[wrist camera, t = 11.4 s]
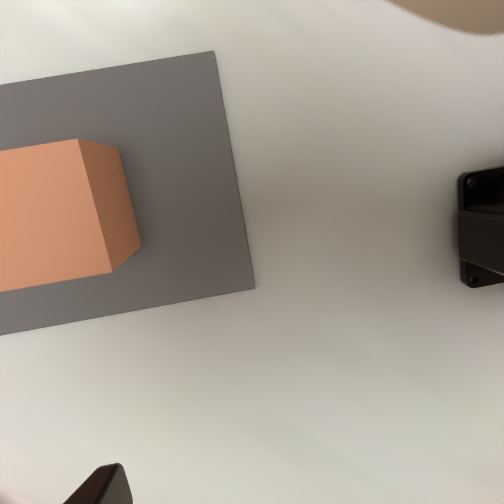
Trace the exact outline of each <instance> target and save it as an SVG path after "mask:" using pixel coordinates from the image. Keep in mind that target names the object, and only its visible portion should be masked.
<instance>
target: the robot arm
mask: <svg viewBox="0 0 504 504" xmlns="http://www.w3.org/2000/svg"><path fill="white" fill-rule="evenodd" d="M469 178H471V180H472V182H471V184H470V185H468V183H467V182H468V179H469ZM458 191H459V214H458V235H459V257H460V258H461V279H462V283H463V284H464V285H466V286H468V287H470V288H478V287H483V286H488V285H493V284H499V283H504V166H499V167H493V168H488V169H482V170H476V171H471V172H466V173H464V174H462V175H461V176H460V178H459V181H458ZM472 276H474V279H473V280H472V281H471V282H470V279H471V277H472ZM63 504H133V499H132V494H131V491H130V487H129V484H128V481H127V477H126V474H125V471H124V468H123V466H122V465H121V464H120V463H114V464H109V465H104V466H101V467H99V468H97V469H96V470H95V471H94V472H93V473H92V474H91V475H90V476H89V477H88V478H87V479H86V481H85V482H84V483H83V484H82V485H81V486H80V487H79V488H78V489H77V490H76V491H75V492H74V493H73V494H72V495H71V496H70V497H69V498H68V499H67V500H66V501H65V502H64V503H63Z"/></svg>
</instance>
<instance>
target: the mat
mask: <svg viewBox="0 0 504 504" xmlns="http://www.w3.org/2000/svg"><path fill="white" fill-rule="evenodd" d="M71 139H82V140H86V141H91V142H96V143H100V144H105V145H110V146H114V147H118V149H119V154H120V158H121V162H122V166H123V170H124V174H125V179H126V183H127V187H128V191H129V195H130V199H131V204H132V208H133V212H134V216H135V220H136V224H137V229H138V233H139V237H140V241H141V245H142V246H141V247H140V248H139V249H137V250H136V251H135V252H134V253H133V254H132V255H131V256H130V257H129V258H128V259H126V260H125V261H124V262H123V263H122V264H121V265H120V266H119V267H118V268H117V269H116V270H114V271H113V272H111V273H105V274H99V275H94V276H88V277H82V278H76V279H71V280H65V281H59V282H54V283H48V284H42V285H37V286H31V287H25V288H20V289H14V290H8V291H2V292H0V336H1V335H6V334H12V333H17V332H22V331H28V330H33V329H39V328H44V327H49V326H55V325H60V324H66V323H71V322H77V321H82V320H87V319H93V318H98V317H104V316H109V315H114V314H120V313H125V312H131V311H136V310H141V309H147V308H152V307H158V306H163V305H169V304H174V303H179V302H185V301H190V300H196V299H201V298H206V297H212V296H217V295H223V294H228V293H233V292H239V291H244V290H250V289H255V283H254V278H253V272H252V266H251V261H250V255H249V249H248V243H247V238H246V232H245V226H244V221H243V215H242V209H241V203H240V198H239V192H238V186H237V180H236V175H235V169H234V163H233V158H232V152H231V146H230V140H229V135H228V129H227V123H226V117H225V112H224V106H223V100H222V95H221V89H220V83H219V77H218V72H217V66H216V60H215V54H214V51H208V52H202V53H195V54H189V55H183V56H177V57H171V58H164V59H158V60H152V61H146V62H140V63H133V64H127V65H121V66H115V67H108V68H102V69H96V70H90V71H84V72H77V73H71V74H65V75H59V76H52V77H46V78H40V79H34V80H28V81H21V82H15V83H9V84H3V85H0V151H3V150H10V149H16V148H22V147H28V146H34V145H40V144H47V143H53V142H59V141H65V140H71Z"/></svg>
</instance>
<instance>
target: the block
mask: <svg viewBox="0 0 504 504" xmlns="http://www.w3.org/2000/svg"><path fill="white" fill-rule="evenodd" d="M141 246H142V245H141V241H140V237H139V233H138V229H137V224H136V220H135V216H134V212H133V208H132V204H131V199H130V195H129V191H128V187H127V183H126V179H125V174H124V170H123V166H122V162H121V158H120V154H119V149H118V147H114V146H110V145H105V144H100V143H96V142H91V141H86V140H82V139H71V140H65V141H59V142H53V143H47V144H40V145H34V146H28V147H22V148H16V149H10V150H3V151H0V292H2V291H8V290H14V289H20V288H25V287H31V286H37V285H42V284H48V283H54V282H59V281H65V280H71V279H76V278H82V277H88V276H94V275H99V274H105V273H111V272H113V271H114V270H116V269H117V268H118V267H119V266H120V265H121V264H122V263H123V262H124V261H125V260H126V259H128V258H129V257H130V256H131V255H132V254H133V253H134V252H135V251H136V250H137V249H139V248H140V247H141Z"/></svg>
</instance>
